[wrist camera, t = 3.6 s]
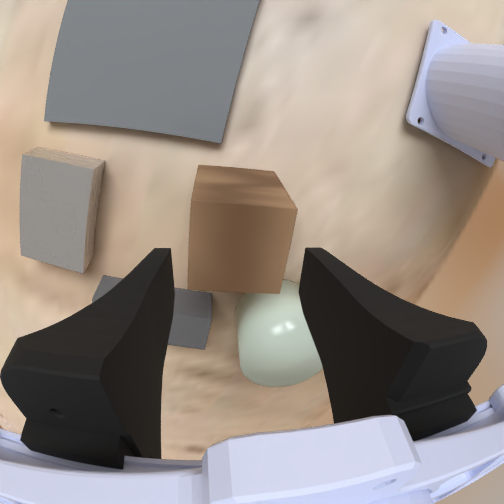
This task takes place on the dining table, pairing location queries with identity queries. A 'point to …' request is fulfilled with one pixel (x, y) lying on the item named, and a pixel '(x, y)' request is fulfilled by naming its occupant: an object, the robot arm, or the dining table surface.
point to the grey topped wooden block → (59, 207)
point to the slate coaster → (149, 64)
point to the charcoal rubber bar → (179, 314)
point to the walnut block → (239, 230)
